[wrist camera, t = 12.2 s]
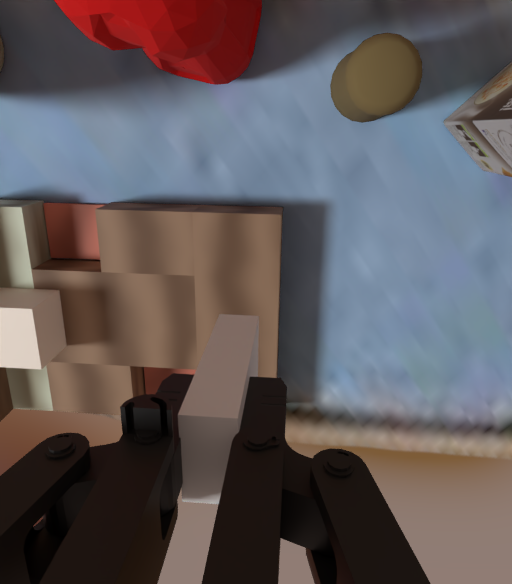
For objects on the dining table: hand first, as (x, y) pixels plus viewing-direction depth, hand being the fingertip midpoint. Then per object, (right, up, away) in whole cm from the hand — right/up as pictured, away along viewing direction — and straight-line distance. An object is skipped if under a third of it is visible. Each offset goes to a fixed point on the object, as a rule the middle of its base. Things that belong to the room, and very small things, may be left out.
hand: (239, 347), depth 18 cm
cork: (+10, +20, +23) cm, 33 cm away
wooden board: (-12, +1, +32) cm, 34 cm away
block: (-22, 0, +29) cm, 36 cm away
